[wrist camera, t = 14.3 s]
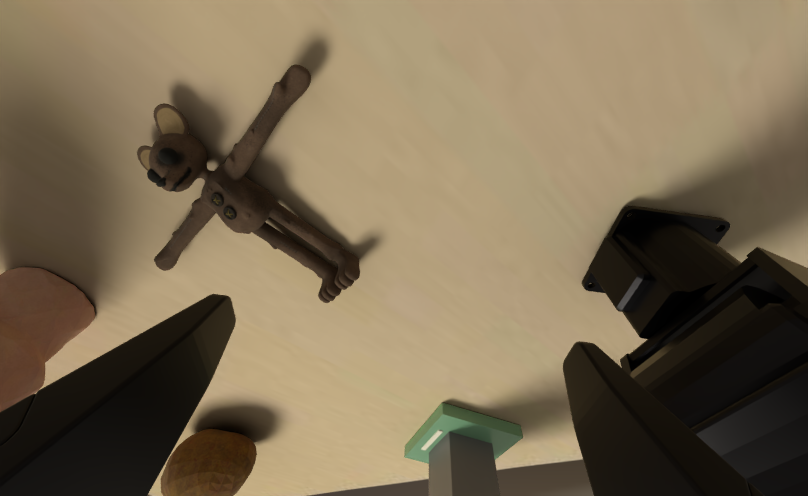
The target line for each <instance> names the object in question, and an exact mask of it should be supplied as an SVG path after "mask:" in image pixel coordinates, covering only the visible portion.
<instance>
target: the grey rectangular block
mask: <svg viewBox="0 0 808 496" xmlns="http://www.w3.org/2000/svg"><path fill="white" fill-rule="evenodd" d="M429 496H500V491H499V484H498V478H497V471H496V465H495V458H494V452H493V445H492V443H488V442H485V441H481V440H478V439H474V438H471V437H467V436H464V435H460V434H457V433H453V432H448V433H447V434H446V435H445V436H444V437H443V438H442V439H441V440H440V441H439V442H438V443H437V444H436V445H435V446H434V447H433V448H432V450H431V451H430V452H429Z"/></svg>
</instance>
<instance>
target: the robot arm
mask: <svg viewBox="0 0 808 496" xmlns="http://www.w3.org/2000/svg"><path fill="white" fill-rule="evenodd" d="M630 213H632V215H631V216H629V217H627V215H628V214H630ZM718 226H719V227H718ZM717 227H718V228H717ZM729 228H730V223H729V222H727V221H726V220H724V219H722V218H716V217H709V216H702V215H695V214H687V213H680V212H673V211H666V210H658V209H651V208H644V207H637V206H628V207H625V208H624V209H622V210H621V212H620V213H619V215H618V217H617V219H616V221H615V222H614V224H613V226H612V228H611V230H610V231H609V233H608V235H607V237H606V238H605V239H604V241H603V243H602V244H601V246H600V248H599V250H598V252H597V254H596V255H595V257H594V259H593V261H592V263H591V264H590V266H589V270H588V271H587V273H586V275H585V277H584V279H583V280H582V285H583V287H584V289H585V290H588V291H594V292H601V293H606V294H607V296H608V297H609V299H610V300H611V302H612V303H613V305H614V306H615V308H616V309H617V310H618V311H620V312H623V313H624V315H625V316H626V318H627V319H628V321H629V322H630V324H631V325H632V327H633V328H634V329H635V331H636V332H637V334H638V335H639V337H640V338H644V339H648V340H646V341H645V342H644V343H643V344H641V345H640V346H639V347H638V348H637V349H635V350H634V351H633V352H632V353H630V354H626V355H625V356H624V357H623V358H621V359H620V362H621V366H622V368H621V367H620V366H619V365H618V364H617V363H615V362H614V361H613V360H612V359H611V358H610V357H609V356H608V355H607V354H605V353H604V352H603V351H602V350H601V349H600V348H599V347H598V346H596V345H595V344H593V343H588V342H580V341H579V342H576V343H575V344H574V345H573V347H572V348H571V350H570V352H569V353H568V355H567V357H566V358H565V360H564V363H563V372H564V377H565V383H566V388H567V393H568V399H569V404H570V409H571V415H572V420H573V424H574V429H575V432H576V436H577V440H578V443H579V446H580V450H581V453H582V457H583V460H584V463H585V467H586V470H587V473H588V477H589V480H590V484H591V487H592V490H593V494H594V496H808V268H806V267H804V266H801V265H799V264H797V263H794V262H792V261H790V260H787V259H785V258H783V257H780V256H778V255H776V254H773V253H771V252H769V251H766V250H764V249H762V248H759V247H756V248H755V249H754V250H753V251H752V252H750V253H749V254H748V255H747V257H748V258H747V259H746V260H744V261H743V262H742V263H741V262H740V261H738V260H737V259H736V258H734V257H733V256H732V255H730V254H729V253H727V252H726V251H725V250H723V249H722V248H721V247H719V246H718V245H717V244H718V242H719V241H720V240H721V239H722V237H723V236H724V235H725V233H726V232H727V231H728V230H729ZM589 283H592V284H589ZM235 322H236V318H235V314H234V309H233V305H232V301H231V298H230V297H229V296H226V295H218V294H212V295H209V296H207V297H206V298H204V299H202V300H200V301H198V302H197V303H195V304H193V305H191V306H190V307H188V308H186V309H184V310H182V311H181V312H179V313H177V314H175V315H173V316H172V317H170V318H168V319H166V320H164V321H163V322H161V323H159V324H157V325H155V326H154V327H152V328H150V329H148V330H146V331H145V332H143V333H141V334H139V335H137V336H136V337H134V338H132V339H130V340H129V341H127V342H125V343H123V344H121V345H120V346H118V347H116V348H114V349H112V350H111V351H109V352H107V353H105V354H103V355H102V356H100V357H98V358H96V359H94V360H93V361H91V362H89V363H87V364H85V365H84V366H82V367H80V368H78V369H76V370H75V371H73V372H71V373H69V374H68V375H66V376H64V377H62V378H60V379H59V380H57V381H55V382H53V383H51V384H50V385H48V386H46V387H44V388H42V389H41V390H39V391H38V392H37V393H36V394H31V395H30V396H28V397H26V398H24V399H22V400H21V401H19V402H17V403H15V404H13V405H12V406H10V407H8V408H6V409H4V410H3V411H1V412H0V496H147V495H148V493H149V491H150V489H151V488H152V486H153V484H154V482H155V480H156V479H157V477H158V475H159V473H160V472H161V470H162V468H163V466H164V464H165V463H166V461H167V459H168V457H169V456H170V454H171V452H172V450H173V448H174V447H175V445H176V443H177V441H178V439H179V438H180V436H181V434H182V432H183V431H184V429H185V427H186V425H187V423H188V422H189V420H190V418H191V416H192V415H193V413H194V411H195V409H196V407H197V406H198V404H199V402H200V400H201V399H202V397H203V395H204V393H205V391H206V389H207V388H208V386H209V384H210V382H211V380H212V378H213V375H214V373H215V371H216V369H217V366H218V364H219V362H220V359H221V357H222V355H223V352H224V350H225V348H226V345H227V343H228V341H229V338H230V336H231V334H232V331H233V329H234V326H235Z"/></svg>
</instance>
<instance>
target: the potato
mask: <svg viewBox="0 0 808 496" xmlns="http://www.w3.org/2000/svg"><path fill="white" fill-rule="evenodd" d="M256 455H257V453H256V446H255V444H254V443H253V441H252V440H251V439H249V438H248V437H246V436H244V435H242V434H239V433H235V432H228V431H222V430H219V429H206V430H202V431H200V432H198V433H196V434H194V435H192V436H190V437H189V438H187V439H186V440H185V441H183V442H182V443H181V444H180V445H179V446H178V447H177V448H176V450H175V451H174V452H173V454H172V455H171V456H170V458H169V460H168V462H167V465H166V467H165V470H164V472H163V475H162V477H161V493H162V494H163V496H233V495H235V494H236V493H237V491H238V490H239V489H240V488H241V486H242V485H243V484H244V482H245V481H246V479H247V478H248V476H249V475H250V473H251V471H252V469H253V466H254V464H255V460H256Z"/></svg>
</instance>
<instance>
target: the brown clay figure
mask: <svg viewBox="0 0 808 496" xmlns="http://www.w3.org/2000/svg"><path fill="white" fill-rule="evenodd" d="M310 82H311V75H310V72H309V71H308V70H307V69H306V68H304V67H302V66H300V65H293V66H291V67H290V68H289V69H288V70H287V72H286V73H285V75H284V76H283V78H282V79H281V81H280V82H276V83H275V84H274V86H273V89H272V93H271V95H270V97H269V98H268V100H267V102H266V104H265V105H264V107H263V108H262V110H261V111H260V113H259V114H258V116H257V117H256V119H255V120H254V122H253V123H252V124H251V126H250V127H249V129H248V130H247V132H246V133H245V135H244V136H243V137H242V139H241V140H240V142H239V143H238V144H237V143H236V144H235V145H234V148H233V151H232V152H231V154H230V155H229V156H228V157H227V159H226V162H225V163H224V164H222V165H220V166H219V167H218V168H217V169H216V170H215V171H210V170H208V169H207V153H206V150H205V147H204V146H203V145H202V143H200V142H199V141H198V140H197V139H196V138H194V137H193V136H191V135H190V134H188V132H189V125H188V122H187V120H186V118H185V117H184V116H183V114H182V113H181V112H180V111H179V110H177V109H176V108H175V107H173V106H171V105H169V104H160V105H158V106H157V107H156V108H155V110H154V118H155V121H156V124H157V127H158V131H159V135H160V138H159V140H158V141H156V142H155V143H154V145H153V147H149V146H141V147H140V148H139V149H138V151H137V155H138V159H139V161H140V163H141V164H142V165H143V167H144V168H145V169H146V170H148V172H147V175H148V178H149V179H150V180H151V181H152V182H154V183H157V184H156V185H157V186H159V187H162V188H163V189H165V190H167V191H175V192H180V191H183V190H186V189H187V188H189V187H190V186H191V185H192V183H193V182H194V181H195V180H196V179H197V178H203V179H204V180H205V185H204V187H203V189H202V194H201V198H199V199H197V200H195V201H194V202H193V203H192V210H191V211H190V213H189V215H188V216H187V218H186V219H185V221H184V222H183V223H182V225H181V226H180V228H179V229H178V230H177V231H175V232H174V233H173V234H172V235H173V237H172V239H171V240H170V241H169V242H168V243H167V245H166V246H165V247H164V248H163V249H162V250H161V251H160V253H159V254H158V255H157V256H156V257H155V258H154V261H155V263H156V265H157V267H159V268H160V269H162V270H165V271H166V270H170V269H171V268H173V267H174V266H175V264H176V263H177V261H178V258H179V256H180V254H181V252H182V251H183V249H184V248H185V247H186V246H187V244H188V243H189V242H190V241H191V240H192V239H193V238H194V237H195V235H196V234H197V233H198V232H199V231H200V230H201V229H202V228H203V227H204V225H205V224H206V223H207V222H208V221H209V220H210V219H211V218H212V217H213V215H214V214H215V213H217V214H218V215H219V217H220V218H221V219H222V221H223V222H224V223H225V224H226V225H227V226H228V227H229V228H230V229H232V230H233V231H234V232H237V233H246V234H249V233H251V232H253V233H254V234H256V235H257V236H259V237H261V238H262V239H264V240H265V241H267V242H268V243H269V244H270V245H271V246H272V247H273V248H274V249H277V248H278V249H280V250H281V251H283V252H284V253H286V254H287V255H289V256H291V257H292V258H294V259H295V260H297V261H298V262H300V263H301V264H302V265H304V266H305V267H308V268H309V269H311V270H313V271H314V272H315V273H316V274H317V276H318V277H320V278H322V286H321V289H320V291H319V294H318V297H319V299H320V300H321V301H323V302H325V303H329V302H330V301H333V300H334V299H335V297H336V296H338V295H339V294H340V293H341V290H342V289H343V290H345V289H347V287H348V286H351V285H352V284H353V283H354V280H357V279H358V278H359V276H360V269H359V258H358V257H357V256H355V255H354V254H352V253H350V252H348V251H346V250H345V249H343V248H342V246H341V245H340V244H339V243H336V242H334V241H332V240H330V239H329V238H327V237H326V236H324V235H323V234H322V233H320V232H319V231H317V230H316V229H314V228H313V227H312V226H310V225H309V224H307V223H306V222H304V221H303V220H302V219H300V218H299V217H297V216H296V215H295V214H293V213H292V212H290V211H289V210H287V209H286V208H285V207H283V206H282V205H280V204H279V203H277V202H276V201H275V200H274V198H273V197H272V196H271V195H270V194H269V193H268V190H266V189H264V188H262V187H260V186H258V185H256V184H255V183H253V182H251V181H250V180H249V179H247V178H246V177H245V176H244V175H245V173H246V172H247V170H248V169H249V167H250V166H251V165H252V163H253V162H254V160H255V158H256V156H257V155H258V153H259V151H260V150H261V148H262V147H263V145H264V143H265V142H266V140H267V139H268V137H269V136H270V134H271V132H272V131H273V129H274V128H275V126H276V125H277V123H278V122H279V120H280V119H281V117H282V116H283V115H284V113H285V112H286V111H287V110H288V109H289V107H290V106H291V105H292V104H293V103H294V102H295V101H296V100H297V99H298V98H299V97H300V96H301V95H302V94H303V93H304V92H305V91H306V90H307V88H308V87H309V85H310ZM269 217H271V218H272V219H274V220H275V221H277V222H278V223H280V224H281V225H283V226H284V227H286V228H287V229H289V230H290V231H292V232H293V233H295V234H296V235H298V236H299V237H301V238H302V239H304V240H305V241H307V242H308V243H310V244H311V245H313V246H314V247H316V248H317V249H319V250H320V251H321V252H322V253H323V254H324V255H325V256H326V257H327V258H328V259H329V260H331V261H332V260H334V261H336V262H337V264H338V268H337V267H335V266H333V265H331V264H329V263H327V262H326V261H324V260H323V259H321V258H320V257H318V256H316V255H315V254H313V253H312V252H310V251H309V250H307V249H306V248H304V247H303V246H301V245H300V244H298V243H297V242H295V241H293V240H292V239H290V238H289V237H287V236H286V235H284V234H283V233H281V232H280V231H278V230H277V229H275V228H274V227H272V226H270V225H269V224H267V223H266V222H265V221H266V220H267V219H268V218H269Z"/></svg>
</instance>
